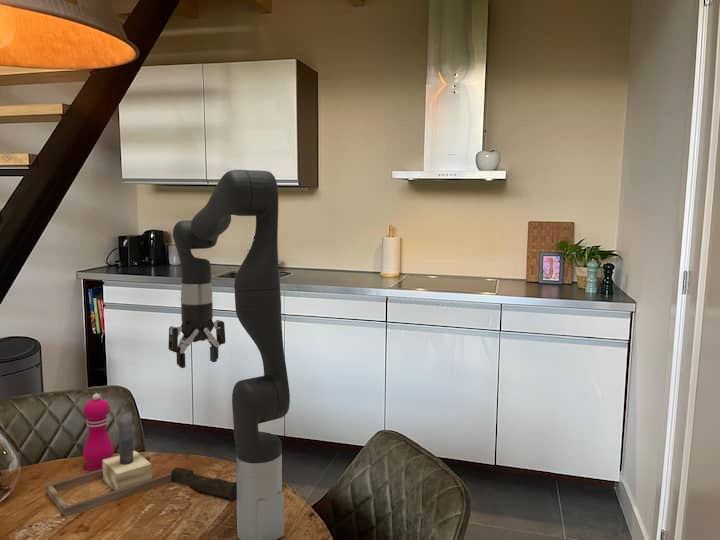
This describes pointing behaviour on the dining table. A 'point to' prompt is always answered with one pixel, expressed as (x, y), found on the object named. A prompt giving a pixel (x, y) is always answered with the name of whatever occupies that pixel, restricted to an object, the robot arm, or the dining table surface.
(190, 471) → the hand tool
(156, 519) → the dining table surface
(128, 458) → the joystick
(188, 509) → the dining table surface
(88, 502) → the bay
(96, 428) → the pepper mill
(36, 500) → the dining table surface
